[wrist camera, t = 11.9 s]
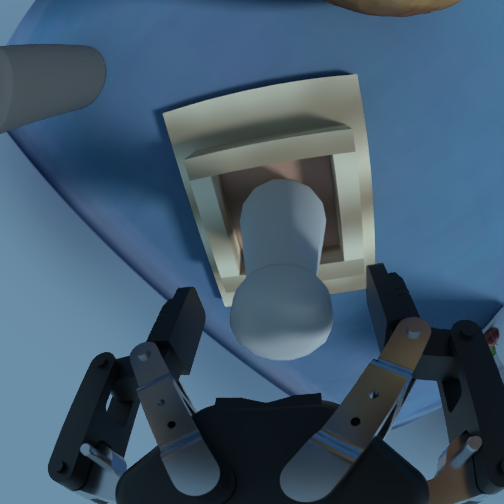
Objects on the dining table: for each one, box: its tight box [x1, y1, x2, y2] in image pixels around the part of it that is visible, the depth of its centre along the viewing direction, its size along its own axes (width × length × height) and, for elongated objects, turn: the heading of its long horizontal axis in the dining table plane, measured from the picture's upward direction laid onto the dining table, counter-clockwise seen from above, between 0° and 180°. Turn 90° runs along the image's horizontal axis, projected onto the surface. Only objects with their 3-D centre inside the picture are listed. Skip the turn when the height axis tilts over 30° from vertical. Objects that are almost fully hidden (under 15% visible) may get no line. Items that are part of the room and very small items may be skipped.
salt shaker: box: [230, 179, 333, 360], centre depth 17 cm, size 6×6×13 cm
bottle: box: [0, 44, 106, 134], centre depth 13 cm, size 6×6×15 cm
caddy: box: [163, 74, 375, 307], centre depth 22 cm, size 18×14×4 cm
